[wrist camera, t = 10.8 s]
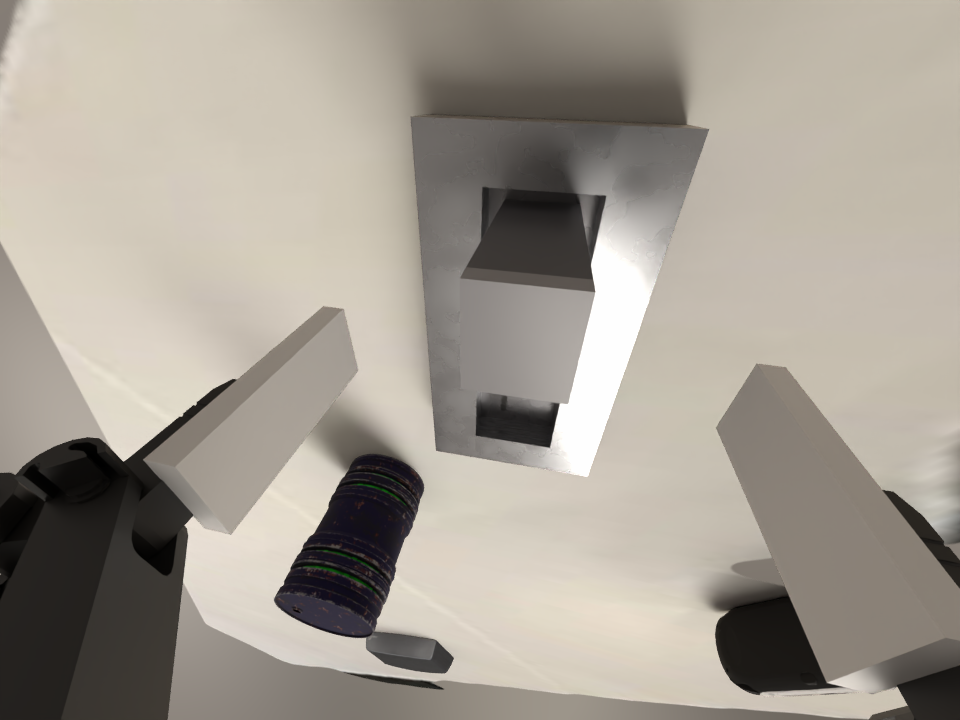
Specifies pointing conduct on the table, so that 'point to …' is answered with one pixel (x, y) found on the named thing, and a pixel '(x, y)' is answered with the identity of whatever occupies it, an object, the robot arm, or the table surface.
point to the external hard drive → (409, 652)
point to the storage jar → (354, 549)
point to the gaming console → (770, 652)
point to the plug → (526, 302)
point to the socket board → (612, 249)
